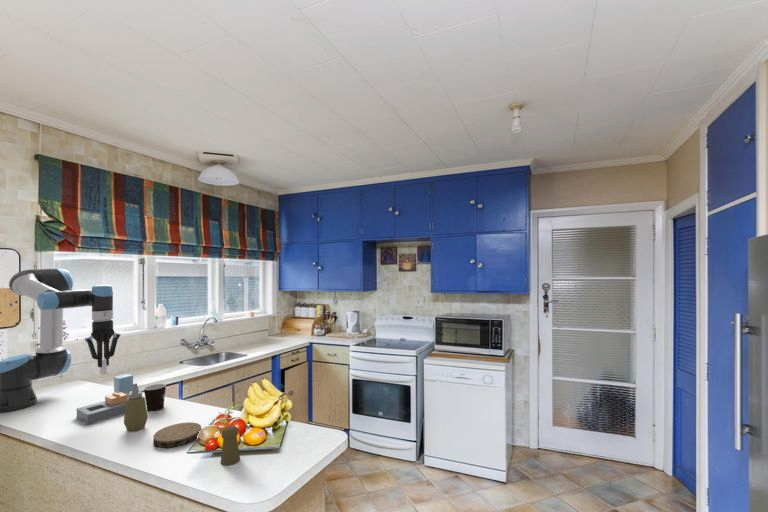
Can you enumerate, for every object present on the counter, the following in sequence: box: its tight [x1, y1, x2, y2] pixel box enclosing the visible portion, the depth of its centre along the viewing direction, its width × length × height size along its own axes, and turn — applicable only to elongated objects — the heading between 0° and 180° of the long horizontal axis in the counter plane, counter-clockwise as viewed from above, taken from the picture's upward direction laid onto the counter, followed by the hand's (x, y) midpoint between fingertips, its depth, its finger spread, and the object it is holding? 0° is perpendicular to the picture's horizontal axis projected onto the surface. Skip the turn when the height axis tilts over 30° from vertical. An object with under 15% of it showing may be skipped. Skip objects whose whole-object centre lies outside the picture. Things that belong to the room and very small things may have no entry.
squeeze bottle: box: [123, 382, 148, 433], centre depth 155 cm, size 8×8×18 cm
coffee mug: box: [143, 383, 167, 412], centre depth 178 cm, size 12×9×10 cm
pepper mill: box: [220, 425, 241, 467], centre depth 128 cm, size 6×6×11 cm
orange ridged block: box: [104, 392, 127, 406], centre depth 175 cm, size 6×6×4 cm
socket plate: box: [76, 398, 129, 425], centre depth 172 cm, size 18×13×4 cm
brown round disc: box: [153, 422, 202, 450], centre depth 146 cm, size 16×16×3 cm
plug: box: [113, 373, 134, 398], centre depth 190 cm, size 6×6×12 cm
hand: (103, 373), depth 172 cm, fingers closed
